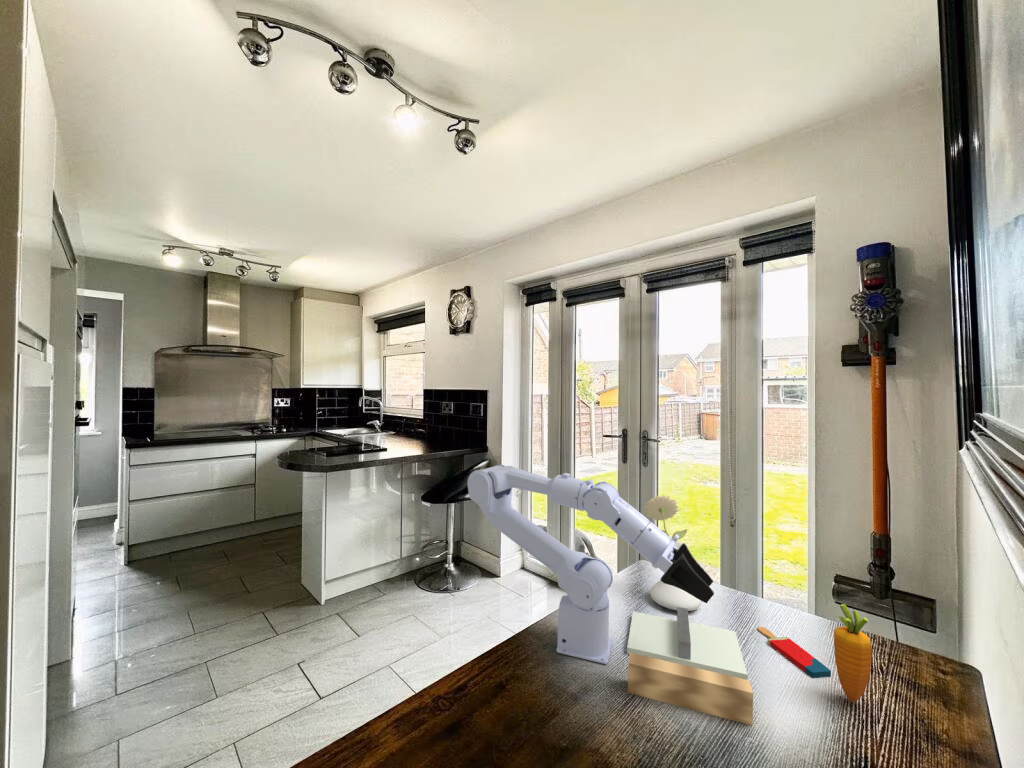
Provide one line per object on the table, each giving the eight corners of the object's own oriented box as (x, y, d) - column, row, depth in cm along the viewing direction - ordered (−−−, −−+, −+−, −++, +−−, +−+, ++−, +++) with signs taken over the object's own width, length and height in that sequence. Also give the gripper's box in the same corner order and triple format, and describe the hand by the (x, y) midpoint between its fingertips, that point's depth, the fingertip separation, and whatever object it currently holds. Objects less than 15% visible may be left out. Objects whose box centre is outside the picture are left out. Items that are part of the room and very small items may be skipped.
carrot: (879, 716, 65) (880, 618, 65) (843, 710, 66) (843, 614, 66) (859, 693, 69) (860, 602, 70) (826, 688, 70) (826, 599, 71)
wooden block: (627, 693, 69) (628, 663, 69) (629, 682, 71) (629, 652, 72) (752, 727, 62) (753, 693, 62) (748, 712, 65) (749, 680, 65)
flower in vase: (701, 598, 101) (703, 494, 101) (701, 621, 91) (703, 505, 91) (645, 586, 106) (646, 488, 107) (639, 607, 96) (641, 498, 96)
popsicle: (769, 623, 89) (833, 670, 74) (769, 630, 89) (833, 679, 74) (750, 625, 88) (810, 672, 73) (750, 632, 88) (810, 680, 73)
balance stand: (627, 653, 79) (627, 631, 79) (632, 616, 92) (633, 597, 92) (747, 681, 72) (747, 656, 72) (735, 637, 85) (735, 616, 85)
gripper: (650, 521, 69) (727, 584, 63) (658, 512, 82) (722, 564, 76) (624, 554, 70) (698, 619, 64) (636, 540, 83) (699, 593, 77)
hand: (710, 591), depth 70 cm, fingers open, 7 cm apart
